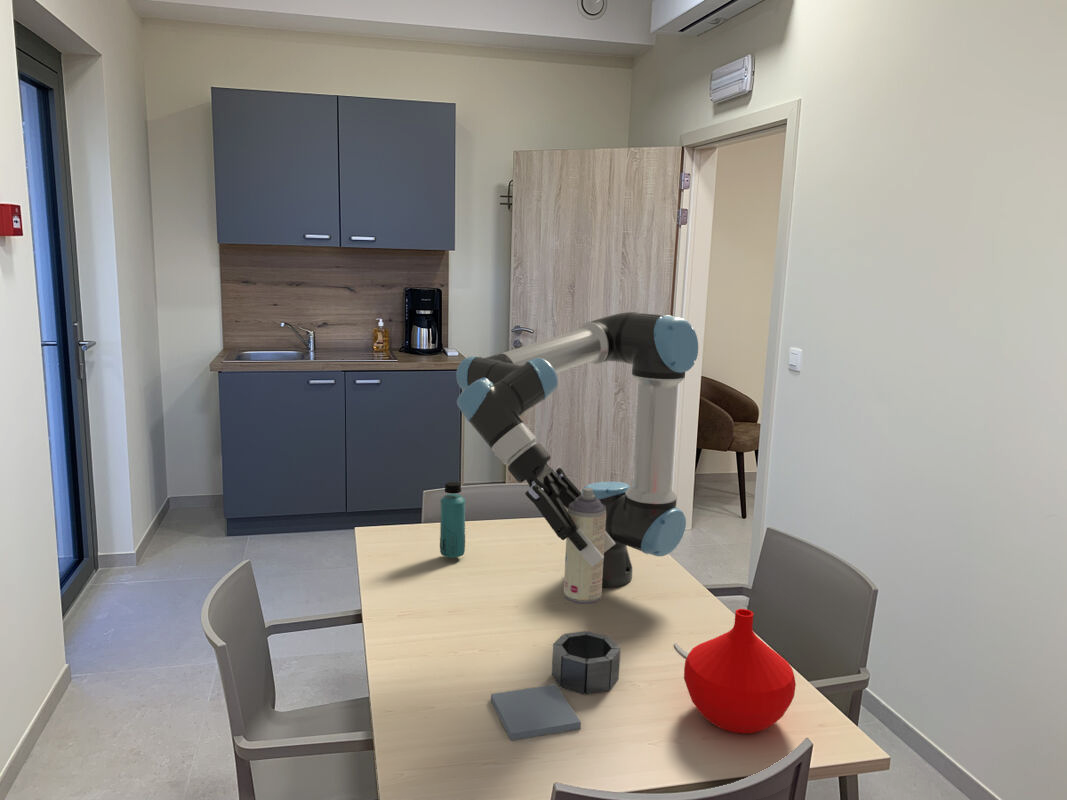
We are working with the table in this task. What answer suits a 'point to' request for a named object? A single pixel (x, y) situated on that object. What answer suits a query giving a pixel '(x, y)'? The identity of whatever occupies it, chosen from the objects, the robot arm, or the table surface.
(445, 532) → the beverage bottle
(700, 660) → the vase
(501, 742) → the table surface
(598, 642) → the ring
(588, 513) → the aerosol can
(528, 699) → the rubber mat
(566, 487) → the robot arm
